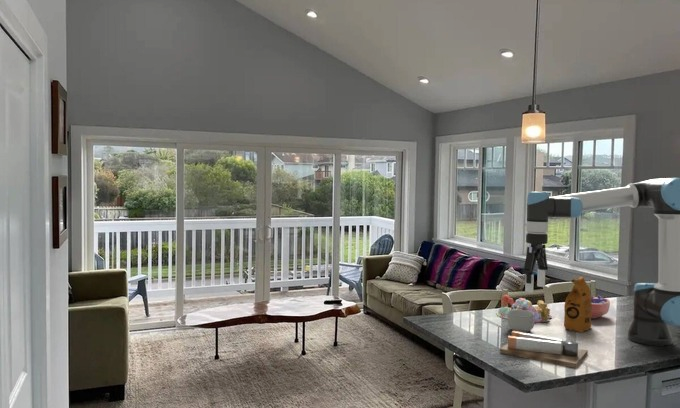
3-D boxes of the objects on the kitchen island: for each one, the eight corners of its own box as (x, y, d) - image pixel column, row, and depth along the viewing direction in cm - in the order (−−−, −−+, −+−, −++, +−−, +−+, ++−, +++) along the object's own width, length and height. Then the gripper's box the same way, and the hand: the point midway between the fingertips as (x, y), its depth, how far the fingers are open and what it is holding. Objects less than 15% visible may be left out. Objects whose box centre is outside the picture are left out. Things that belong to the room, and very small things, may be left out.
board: (587, 354, 187) (587, 350, 187) (576, 368, 173) (576, 363, 173) (516, 341, 203) (516, 337, 203) (500, 352, 188) (500, 348, 188)
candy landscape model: (547, 312, 250) (548, 293, 250) (556, 325, 227) (557, 304, 227) (494, 309, 256) (494, 291, 255) (498, 321, 233) (498, 301, 233)
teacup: (535, 335, 211) (536, 316, 210) (508, 333, 213) (508, 314, 213) (530, 326, 224) (530, 308, 224) (504, 324, 226) (504, 306, 226)
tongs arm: (560, 353, 183) (561, 341, 183) (560, 354, 181) (561, 343, 181) (508, 346, 190) (508, 335, 190) (507, 348, 188) (507, 337, 188)
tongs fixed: (579, 354, 183) (579, 342, 182) (575, 357, 179) (576, 345, 178) (513, 341, 197) (513, 330, 197) (508, 344, 193) (509, 333, 193)
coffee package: (559, 328, 221) (560, 278, 220) (571, 323, 229) (572, 274, 229) (583, 333, 214) (584, 281, 213) (594, 328, 222) (595, 277, 221)
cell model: (618, 317, 240) (619, 293, 240) (595, 324, 229) (596, 298, 228) (584, 310, 254) (584, 287, 254) (560, 315, 243) (561, 292, 242)
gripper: (537, 230, 203) (535, 283, 204) (515, 234, 184) (513, 292, 185) (557, 231, 199) (555, 285, 199) (536, 235, 179) (534, 295, 180)
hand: (535, 289), depth 192 cm, fingers open, 13 cm apart
